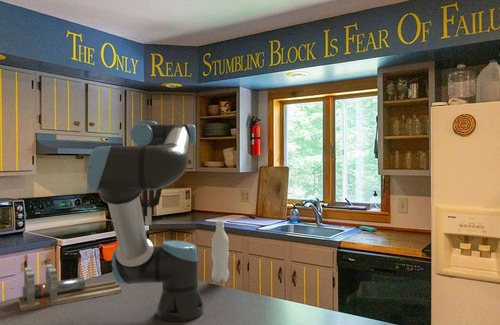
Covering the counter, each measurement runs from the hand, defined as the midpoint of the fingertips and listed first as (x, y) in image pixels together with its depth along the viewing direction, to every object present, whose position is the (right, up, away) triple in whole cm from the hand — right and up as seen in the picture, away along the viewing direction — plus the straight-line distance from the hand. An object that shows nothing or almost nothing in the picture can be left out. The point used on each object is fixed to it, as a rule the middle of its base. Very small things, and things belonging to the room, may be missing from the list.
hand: (148, 224), depth 152 cm
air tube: (-33, -25, -5) cm, 42 cm away
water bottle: (+26, -26, +15) cm, 40 cm away
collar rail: (-28, -27, -2) cm, 39 cm away
